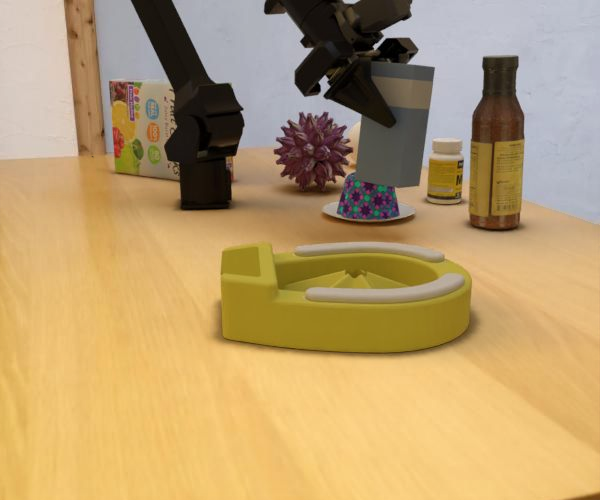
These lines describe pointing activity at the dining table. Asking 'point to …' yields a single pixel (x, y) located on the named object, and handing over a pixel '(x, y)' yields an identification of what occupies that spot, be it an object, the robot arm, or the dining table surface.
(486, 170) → the sauce bottle
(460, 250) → the dining table surface
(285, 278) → the yellow curved tray
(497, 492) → the dining table surface
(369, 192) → the pudding
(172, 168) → the snack box
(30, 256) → the dining table surface
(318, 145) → the flower
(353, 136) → the ball
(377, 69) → the block
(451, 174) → the supplement bottle
